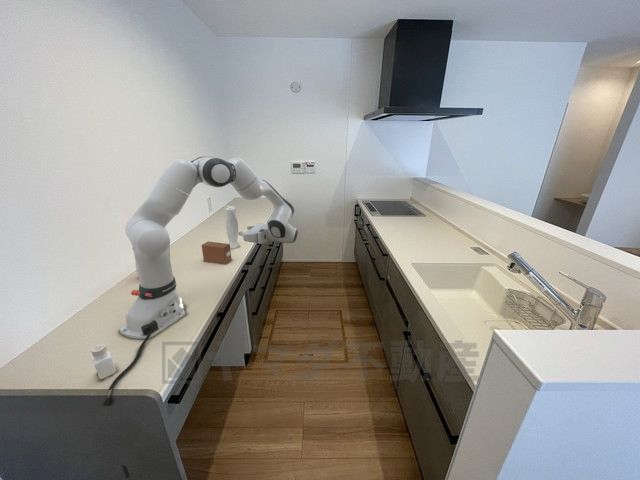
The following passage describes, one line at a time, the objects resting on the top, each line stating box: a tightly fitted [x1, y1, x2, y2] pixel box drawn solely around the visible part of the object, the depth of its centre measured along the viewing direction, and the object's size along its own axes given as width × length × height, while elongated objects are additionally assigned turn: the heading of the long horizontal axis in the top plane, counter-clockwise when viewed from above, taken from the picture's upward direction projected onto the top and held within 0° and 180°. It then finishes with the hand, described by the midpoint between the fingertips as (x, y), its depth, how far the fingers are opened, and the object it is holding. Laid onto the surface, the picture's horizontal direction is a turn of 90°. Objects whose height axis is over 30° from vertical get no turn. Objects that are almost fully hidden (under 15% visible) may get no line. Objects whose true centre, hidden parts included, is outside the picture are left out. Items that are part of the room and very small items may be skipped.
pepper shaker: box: [90, 343, 117, 380], centre depth 77 cm, size 4×4×10 cm
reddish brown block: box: [201, 240, 232, 265], centre depth 149 cm, size 6×15×10 cm, turn 77°
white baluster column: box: [222, 205, 241, 250], centre depth 166 cm, size 8×8×28 cm
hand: (243, 230), depth 140 cm, fingers open, 8 cm apart
